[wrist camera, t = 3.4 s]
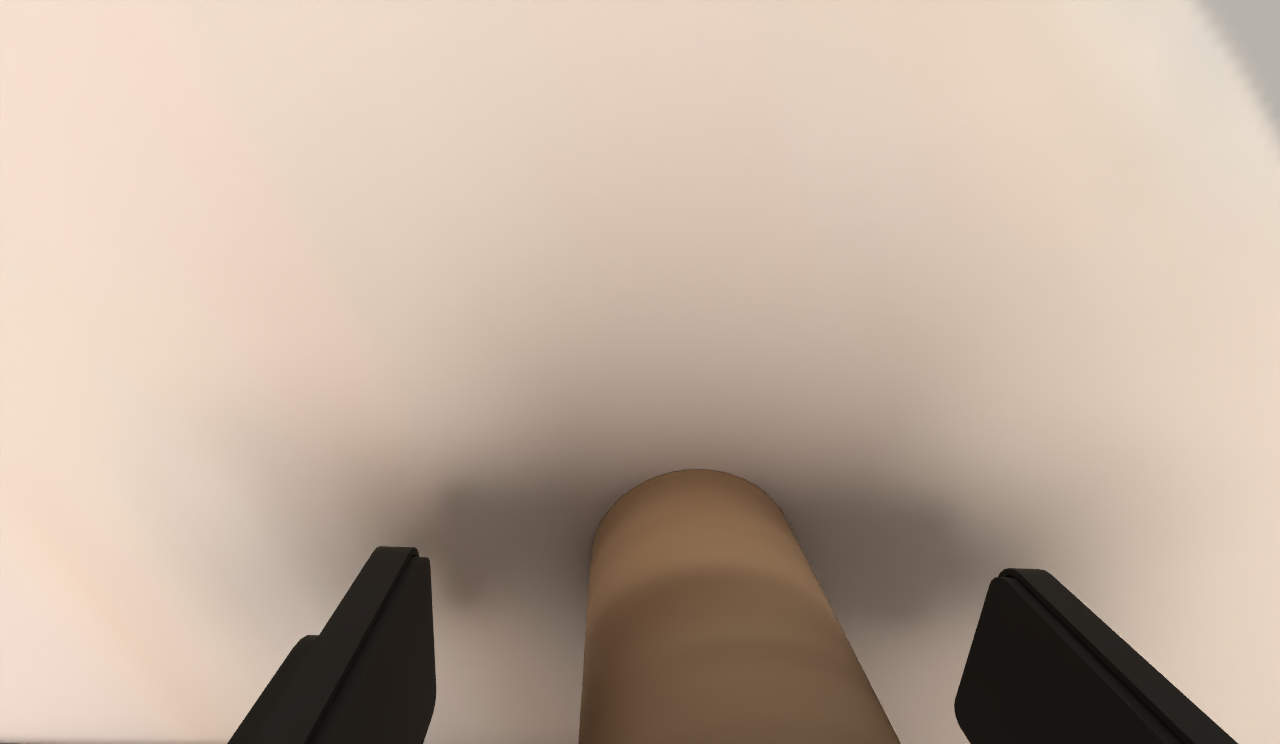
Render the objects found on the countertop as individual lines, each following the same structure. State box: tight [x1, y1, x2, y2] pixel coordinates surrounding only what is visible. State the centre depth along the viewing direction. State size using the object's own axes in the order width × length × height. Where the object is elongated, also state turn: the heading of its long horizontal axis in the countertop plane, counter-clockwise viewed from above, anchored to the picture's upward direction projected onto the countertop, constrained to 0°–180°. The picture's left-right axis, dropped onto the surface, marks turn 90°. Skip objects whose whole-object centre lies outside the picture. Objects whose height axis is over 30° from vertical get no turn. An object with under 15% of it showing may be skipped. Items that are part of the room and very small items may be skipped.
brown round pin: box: [579, 470, 901, 744], centre depth 9 cm, size 4×4×6 cm
